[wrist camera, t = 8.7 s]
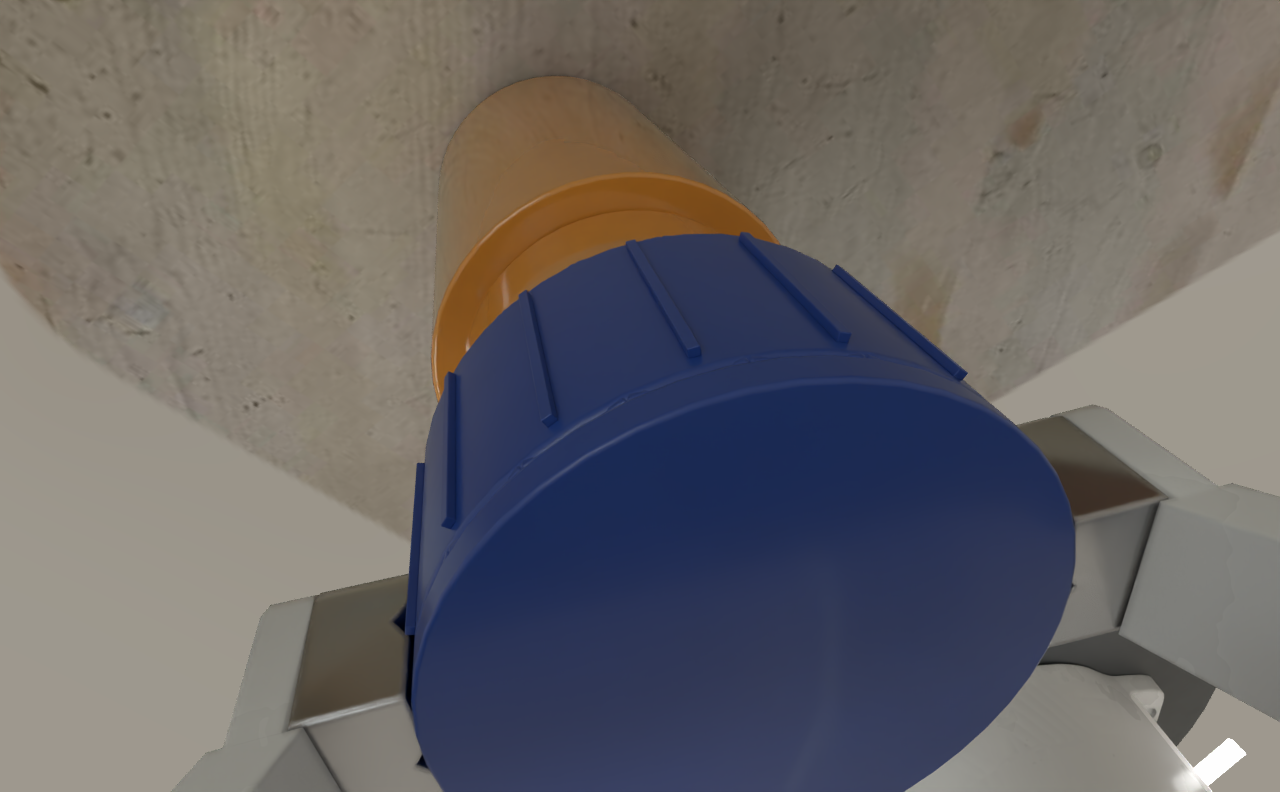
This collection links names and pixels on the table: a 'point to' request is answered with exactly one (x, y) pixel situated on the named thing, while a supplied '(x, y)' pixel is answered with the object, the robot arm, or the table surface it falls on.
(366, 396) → the table surface
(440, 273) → the jam jar
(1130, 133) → the table surface
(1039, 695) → the robot arm
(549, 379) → the jam lid
